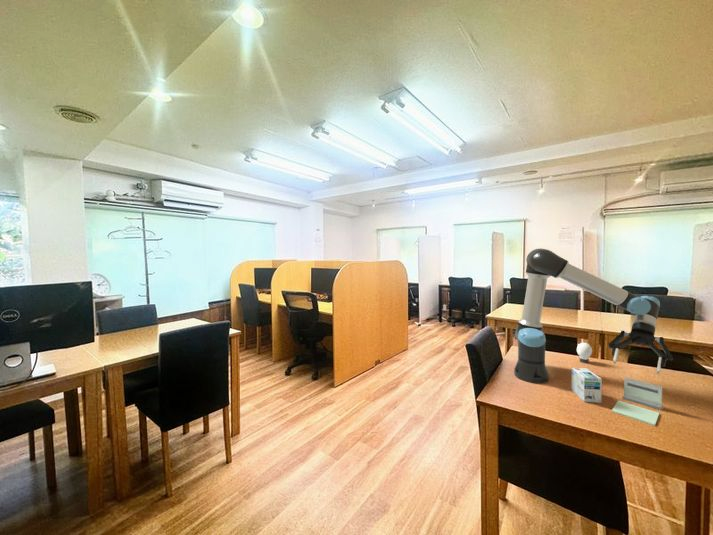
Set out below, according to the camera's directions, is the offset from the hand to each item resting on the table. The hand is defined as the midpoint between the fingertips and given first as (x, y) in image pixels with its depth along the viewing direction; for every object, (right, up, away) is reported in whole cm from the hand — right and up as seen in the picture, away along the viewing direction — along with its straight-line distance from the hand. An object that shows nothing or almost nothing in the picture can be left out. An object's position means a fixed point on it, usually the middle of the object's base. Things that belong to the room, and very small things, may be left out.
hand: (635, 367), depth 124 cm
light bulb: (+8, -10, +38) cm, 40 cm away
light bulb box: (-20, -14, +3) cm, 24 cm away
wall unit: (-2, -14, -4) cm, 14 cm away
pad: (-10, -14, -11) cm, 21 cm away
